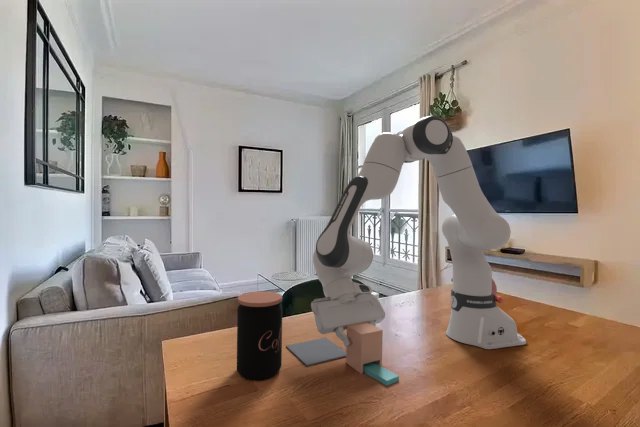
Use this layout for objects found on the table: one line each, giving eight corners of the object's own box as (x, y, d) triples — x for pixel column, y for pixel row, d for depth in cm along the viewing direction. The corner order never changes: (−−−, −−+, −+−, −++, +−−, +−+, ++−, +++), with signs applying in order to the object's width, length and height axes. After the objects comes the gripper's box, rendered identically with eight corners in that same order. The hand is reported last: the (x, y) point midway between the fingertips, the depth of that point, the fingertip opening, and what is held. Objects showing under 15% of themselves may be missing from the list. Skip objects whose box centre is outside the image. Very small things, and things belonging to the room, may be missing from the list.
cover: (366, 357, 87) (366, 322, 87) (381, 368, 82) (382, 330, 82) (346, 362, 84) (346, 325, 84) (360, 373, 79) (361, 334, 79)
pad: (325, 338, 100) (325, 337, 100) (349, 355, 88) (349, 354, 88) (286, 346, 93) (286, 345, 93) (306, 366, 82) (306, 364, 82)
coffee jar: (260, 387, 72) (261, 305, 72) (226, 373, 78) (227, 298, 77) (290, 368, 81) (291, 295, 81) (257, 357, 87) (258, 289, 87)
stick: (362, 362, 86) (363, 356, 86) (398, 382, 76) (398, 375, 76) (351, 366, 83) (351, 360, 83) (386, 387, 74) (387, 380, 74)
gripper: (312, 293, 85) (331, 344, 77) (375, 285, 95) (398, 330, 87) (304, 306, 89) (322, 356, 81) (365, 297, 99) (386, 341, 91)
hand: (362, 342), depth 84 cm, fingers closed on cover, 6 cm apart
